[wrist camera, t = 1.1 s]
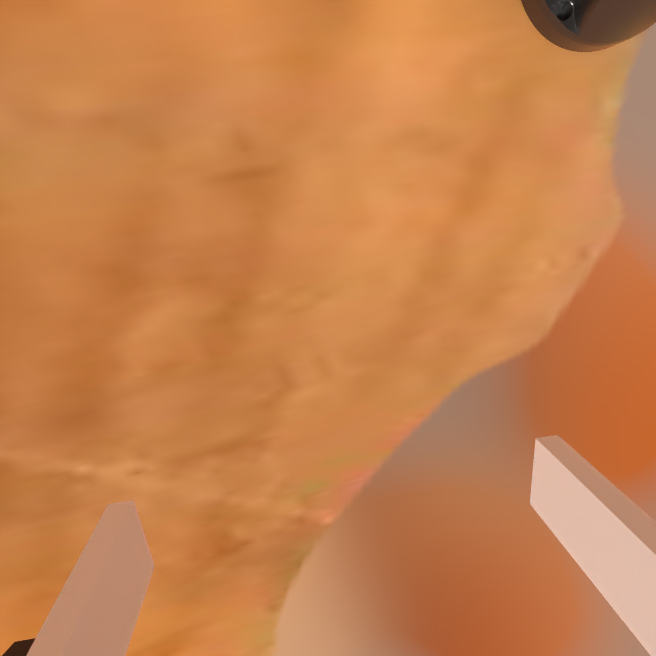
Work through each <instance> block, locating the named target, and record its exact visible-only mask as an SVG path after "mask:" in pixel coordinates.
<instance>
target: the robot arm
mask: <svg viewBox="0 0 656 656" xmlns="http://www.w3.org/2000/svg"><path fill="white" fill-rule="evenodd" d="M521 1H522V3H523V6H524V8H525V11H526V13H527V15H528V17H529V18H530V20H531V22H532V23H533V25H534V26H535V27H536V29H537V30H538V31H539V32H540V33H541V34H542V35H543V36H544V37H545V38H546V39H548V40H549V41H550V42H552V43H554V44H555V45H557V46H559V47H562V48H564V49H567V50H571V51H577V52H592V51H598V50H602V49H606V48H609V47H611V46H614V45H616V44H618V43H621V42H623V41H625V40H628V39H630V38H632V37H634V36H636V35H638V34H639V33H641V32H643V31H644V30H646V29H647V28H649V27H650V26H651V25H653V24H654V23H655V22H656V0H521ZM530 504H531V505H532V507H533V508H534V509H535V511H536V512H537V513H538V514H539V516H540V517H541V518H542V519H543V521H544V522H545V523H546V525H547V526H548V527H549V528H550V529H551V531H552V532H553V533H554V535H555V536H556V537H557V538H558V540H559V541H560V542H561V543H562V544H563V546H564V547H565V548H566V550H567V551H568V552H569V553H570V555H571V556H572V557H573V558H574V560H575V561H576V562H577V563H578V565H579V566H580V567H581V568H582V570H583V571H584V572H585V574H586V575H587V576H588V577H589V579H590V580H591V581H592V582H593V584H594V585H595V586H596V587H597V589H598V590H599V591H600V592H601V593H602V595H603V596H604V597H605V599H606V600H607V601H608V602H609V604H610V605H611V606H612V608H613V609H614V610H615V611H616V613H617V614H618V615H619V616H620V618H621V619H622V620H623V621H624V623H625V624H626V625H627V626H628V628H629V629H630V630H631V631H632V633H633V634H634V635H635V636H636V638H637V639H638V640H639V641H640V643H641V644H642V645H643V647H644V648H645V649H646V650H647V652H648V653H649V654H650V655H651V656H656V522H655V521H654V520H653V519H652V518H651V517H649V516H648V515H647V514H646V513H645V512H644V511H643V510H642V509H641V508H639V507H638V506H637V505H636V504H635V503H634V502H633V501H631V500H630V499H629V498H628V497H627V496H626V495H625V494H623V493H622V492H621V491H620V490H619V489H618V488H617V487H616V486H615V485H613V484H612V483H611V482H610V481H609V480H608V479H607V478H606V477H604V476H603V475H602V474H601V473H600V472H599V471H598V470H597V469H595V468H594V467H593V466H592V465H591V464H590V463H589V462H587V461H586V460H585V459H584V458H583V457H582V456H581V455H580V454H578V453H577V452H576V451H575V450H574V449H573V448H572V447H571V446H569V445H568V444H567V443H566V442H565V441H564V440H563V439H561V438H560V437H559V436H558V435H555V436H547V437H541V438H536V443H535V454H534V464H533V476H532V486H531V497H530ZM153 569H154V563H153V560H152V557H151V553H150V550H149V547H148V544H147V541H146V538H145V535H144V531H143V528H142V525H141V522H140V519H139V516H138V513H137V509H136V506H135V503H134V500H132V501H125V502H119V503H112V504H108V505H107V507H106V509H105V511H104V513H103V515H102V516H101V518H100V520H99V522H98V524H97V526H96V528H95V529H94V531H93V533H92V535H91V537H90V539H89V541H88V542H87V544H86V546H85V548H84V550H83V552H82V554H81V555H80V557H79V559H78V561H77V563H76V565H75V566H74V568H73V570H72V572H71V574H70V576H69V578H68V579H67V581H66V583H65V585H64V587H63V589H62V591H61V592H60V594H59V596H58V598H57V600H56V602H55V603H54V605H53V607H52V609H51V611H50V613H49V615H48V616H47V618H46V620H45V622H44V624H43V626H42V628H41V629H40V631H39V633H38V635H37V637H36V638H35V639H29V640H23V641H18V642H14V643H13V644H12V646H11V647H10V648H9V649H8V650H7V651H6V652H5V653H4V654H3V655H2V656H125V655H126V652H127V649H128V646H129V643H130V639H131V636H132V633H133V630H134V627H135V624H136V621H137V618H138V615H139V612H140V609H141V606H142V603H143V600H144V597H145V594H146V591H147V588H148V585H149V582H150V579H151V576H152V573H153Z"/></svg>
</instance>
